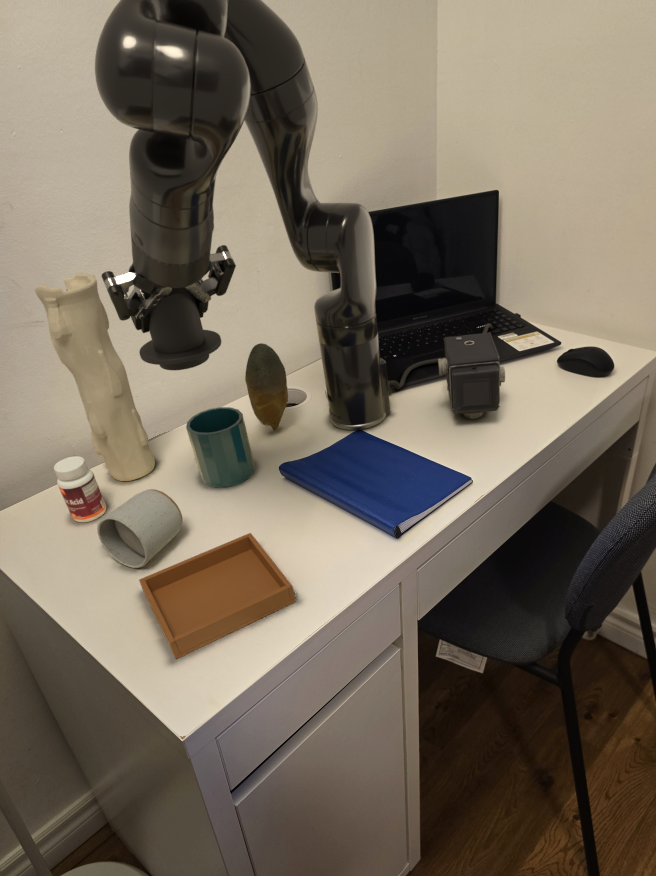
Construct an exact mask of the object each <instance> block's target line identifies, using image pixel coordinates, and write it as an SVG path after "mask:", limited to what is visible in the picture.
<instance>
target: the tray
mask: <svg viewBox="0 0 656 876" xmlns="http://www.w3.org/2000/svg"><path fill="white" fill-rule="evenodd" d="M138 582H139V584H140V586H141V589H142V591H143V593H144V597H145V599H146V600H147V602H148V604H149V607H150V608H151V611H152V613H153V614H154V617H155V619H156V621H157V623H158V625H159V628H160V630H161V631H162V633H163V635H164V638H165V640H166V642H167V645H168V646H169V648H170V650H171V652H172V654H173V656H174V659H175V660H177V659H179V658H181V657H183V656H185V655H188V654H190V653H191V652H194V651H196V650H198V649H200V648H203V647H205V646H206V645H209V644H211V643H213V642H214V641H215V642H216V641H217V640H219V639H222V638H223V637H225V636H228V635H230V634H233V633H234V632H236V631H238V630H240V629H242V628H245V627H247V626H248V625H250V624H253V623H255V622H257V621H259V620H261V619H264V618H265V617H268V616H269V615H271V614H273V613H275V612H277V611H280V610H283V609H284V608H286V607H288V606H290V605H292V604H294V603H296V602H297V600H296V595H295V591H294V588H293V585H292V583H291V582H290V581H289V580H288V578H287V577H286V576H285V575H284V573H283V572H282V571H281V569H280V568H279V567H278V566H277V564H276V563H275V562H274V561H273V559H272V558H271V557H270V556H269V554H268V553H267V552H266V551H265V549H264V547H262V545H261V544H260V542H259V541H258V540H257V539H256V537H254V535H253V534H252V532H248V533H247V534H244V535H242V536H239V537H237V538H234V539H233V540H230V541H227V542H225V543H222V544H220V545H218V546H216V547H213V548H211V549H208V550H206V551H203V552H201V553H199V554H195V555H194V556H191V557H190V558H187V559H184V560H182V561H180V562H177V563H175V564H172V565H170V566H168V567H166V568H163V569H161V570H159V571H156V572H153V573H151V574H149V575H147V576H144V577H141V578H139V579H138Z"/></svg>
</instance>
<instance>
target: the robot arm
mask: <svg viewBox="0 0 656 876" xmlns="http://www.w3.org/2000/svg"><path fill="white" fill-rule="evenodd" d="M94 77H95V83H96V87H97V91H98V94H99V97H100V99H101V101H102V102H103V105H104V106H105V107H106V109H107V110H108V112H109V113H110V114H111V115H112V116H113V117H114V118H115V119H116V120H117V121H118V122H119V123H121V124H122V125H125V126H127V127H129V128H132V129H136V131H135V133H134V134H133V136H132V138H131V140H130V143H129V149H128V160H129V161H128V165H129V177H130V178H129V179H130V197H129V202H128V203H129V205H128V206H129V207H128V208H129V210H128V213H129V226H130V229H129V230H130V242H131V256H132V257H131V258H132V264H131V265H130V266H129V268H128V272H125V273H123V274H119V275H116V276H115V274H114V272H113V271H111V270H106V271H104V272H103V273H101V278H102V281H103V284H104V286H105V288H106V291H107V293H108V296H109V299H110V300H111V303H112V305H113V307H114V309H115V312H116V314H117V317H118V319H119V320H120V321H127V320H129V319H131V321H132V323H133V326H134V328H135V330H136V331H141V333H142V334H145V333H150V332H149V317H148V313H149V312H150V310H151V309H156V308H157V307H158V306H159V304H160V303H161V302H162V300H163V299H164V298H165V297H168V296H171V295H173V294H180V293H185V292H188V291H190V293H191V294H192V295H193V296H194V297H195V299H196V303H197V308H198V312H199V316H200V319H202V318H204V314H205V313H207V312H208V310H209V303H210V301H211V300H212V296H214V295H216V296H217V297H221V296H224V295H225V294H226V293H227V291H228V288H229V285H230V283H231V280H232V279H233V276H234V273H235V270H236V267H237V264H236V263H235V261H234V258H233V256H232V254H231V252H230V250H229V248H228V246H227V245H225V244H222V245H219V246H218V247H217V248H216V251H215V253H211V251H212V250H211V249H212V241H213V234H214V230H215V214H214V198H215V191H216V190H215V188H216V180H217V174H218V171H219V169H220V167H221V165H222V163H223V161H224V159H225V158H226V156H227V154H228V153H229V151H230V149H231V148H232V146H233V144H234V143H235V141H236V140H237V137H238V136H239V133H240V131H241V129H242V127H243V125H244V123H245V126H246V127H247V129H248V131H249V134H250V136H251V139H252V140H253V144H254V146H255V149H256V151H257V153H258V155H259V157H260V161H261V163H262V165H263V168H264V171H265V173H266V175H267V178H268V180H269V184H270V185H271V189H272V191H273V194H274V197H275V200H276V204H277V207H278V210H279V213H280V217H281V219H282V223H283V225H284V229H285V232H286V235H287V238H288V241H289V244H290V247H291V249H292V251H293V254H294V256H295V257H296V259H297V261H298V262H299V264H300V265H301V266H302V268H305V269H306V270H308V271H311V272H317V273H337V274H340V287H339V288H337V289H334V290H330V291H328V292H326V293H324V294H322V295H320V296H319V297H318V298H317V299H316V300H315V302H314V305H313V310H314V319H315V323H316V330H317V337H318V342H319V343H318V344H319V350H320V357H321V363H322V370H323V377H324V384H325V390H324V392H325V393H324V394H325V398H326V400H327V403H328V404H327V405H328V412H329V420H330V423H331V424H332V425H333V426H334V427H336V428H338V429H342V430H346V431H347V430H348V431H357V430H366V429H370V428H373V427H375V426H378V424H381V423H382V422H383V421H384V420H385V418H386V417H387V416H391V414H392V413H391V403H390V401H391V400H390V397H391V396H392V393H391V392H392V391H391V386H394V388H395V389H396V390H401V389H402V388H403V387H404V385H405V383H406V379H407V378H408V376H409V374H411V372H412V371H413V370H415V369H417V368H419V367H423V366H428V365H432V364H438V359H443V358H445V356H444V357H437V358H431V359H426V360H421V361H419V362H416V363H413V364H411V365H410V366H408V367H407V368H406V369H405V370H404V371H403V374H402V376H401V378H400V381H399V382H398V381H397V380H393V379H392V380H388V370H387V361H386V360H385V359H383V358H382V357H381V350H380V340H379V339H380V338H379V332H378V331H379V329H378V319H377V309H376V301H377V300H376V299H377V276H376V274H377V273H376V253H375V252H376V251H375V234H374V226H373V221H372V218H371V216H370V213H369V211H368V209H367V208H366V207H365V206H364V205H363V204H361V203H358V202H320V201H319V200H318V198H317V195H316V194H315V192H314V189H313V186H312V183H311V179H310V175H309V158H310V153H311V150H312V145H313V141H314V136H315V132H316V127H317V122H318V114H319V106H318V105H319V104H318V103H319V102H318V97H317V93H316V89H315V86H314V82H313V80H312V79H313V78H312V77H311V73H310V70H309V67H308V64H307V61H306V58H305V54H304V51H303V49H302V46H301V44H300V42H299V40H298V38H297V36H296V35H295V33H294V32H293V31H292V29H291V28H290V26H288V24H287V23H286V22H285V21H284V20H283V19H282V18H281V17H280V16H279V15H278V14H277V13H276V12H275V11H274V10H273V9H272V8H271V7H270V6H269V5H267V4H266V3H265V2H264V1H263V0H119V1H118V2H117V3H116V5H115V6H114V8H113V9H112V11H111V13H110V14H109V15H108V17H107V19H106V21H105V23H104V25H103V28H102V30H101V32H100V35H99V37H98V42H97V45H96V49H95V57H94ZM207 274H208V275H207ZM206 275H207V277H208V278H207V279H203V278H204V277H205V276H206ZM132 286H133V289H132V290H131V292H130V293H129V291H130V287H132ZM128 293H129V295H128ZM492 329H494V327H493V325H492V324H491V323H486V324H485V325H484V328H483V330H482V333H488V331H489V330H492Z"/></svg>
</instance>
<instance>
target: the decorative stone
mask: <svg viewBox="0 0 656 876" xmlns="http://www.w3.org/2000/svg"><path fill="white" fill-rule="evenodd" d="M244 379H245V381H244V382H245V385H246V389H247V395H248V398H249V402H250V406H251V409H252V411H253V414H254V416H255V417H256V419H257V420H258V421H259V422H260V423H261V424H262V425H264V426H270V428H271V430H272V431H273V432H277V430H278V428H279V426H280V424H281V421H282V418H283V415H284V413H285V411H286V408H287V406H288V402H289V391H288V380H287V372H286V368H285V366H284V364H283V362H282V360H281V358H280V356H279V354H278V353H277V352H276V351H275V350H274V348H272V347H271V346H270V345H268V344H266V343H257V344H255V345H254V346H253V347H252V348H251V350H250V352H249V354H248V358H247V362H246V367H245V376H244Z"/></svg>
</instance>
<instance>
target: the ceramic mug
mask: <svg viewBox="0 0 656 876" xmlns="http://www.w3.org/2000/svg"><path fill="white" fill-rule="evenodd" d="M183 522H184V521H183V514H182V511H181V509H180V508H179V506H178V504H177V503H176V502H175V500H173V498H172V497H171V496H169V495H168V494H166V493H165V492H164V491H161V490H158V489H153V488H151V489H150V488H149V489H145V490H143V491H140V492H138V493H137V494H135V495H133V496H132V497H131V498H129V499H128V500H127V501H125V502H124V503H122V504H121V505H119V506H117V507H116V508H115V509H113V510H112V511H110V512H109V513H107V514H105V515H104V516H103V517H102V518H100V520H99V521H98V523H97V527H96V529H97V532H96V533H97V536H98V539H99V541H100V543H101V545H102V546H103V547H104V549H105V551H106V552H107V553H108V554H109V555H110V556H111V557H112V558H113V559H114V560H115V561H116V562H118V563H119V564H122V565H124V566H125V567H129V568H132V569H140V568H143V567H144V566H145V565H147V564H148V563H149V562H150V561H151V560H152V559H153V558H154V557H155V556H156V555H157V554H158V553H159V552H161V551H162V549H164V547H165V546H167V545H168V544H169V542H171V541H172V540H173V539H174V538H175V537H176V536H177V535H178V533H179V532H180V531H181V528H182V526H183Z"/></svg>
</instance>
